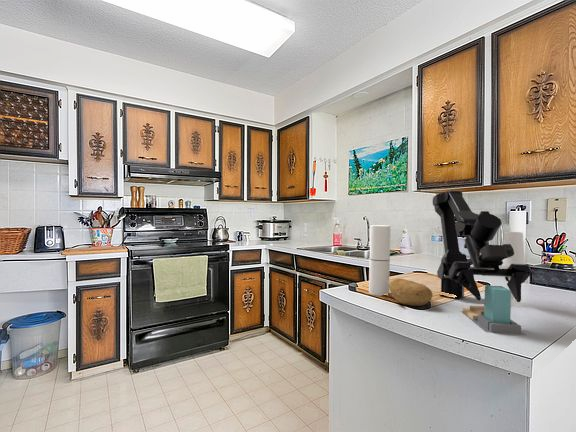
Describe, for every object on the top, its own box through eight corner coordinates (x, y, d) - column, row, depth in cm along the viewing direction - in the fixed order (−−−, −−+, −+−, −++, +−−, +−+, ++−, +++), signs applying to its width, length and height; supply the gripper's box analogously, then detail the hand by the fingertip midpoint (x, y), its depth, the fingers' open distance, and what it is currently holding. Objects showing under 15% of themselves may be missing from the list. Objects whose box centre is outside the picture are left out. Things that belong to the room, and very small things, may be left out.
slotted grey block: (460, 314, 90) (460, 304, 90) (493, 316, 88) (494, 306, 88) (485, 335, 74) (486, 323, 74) (526, 339, 73) (527, 326, 73)
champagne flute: (529, 306, 98) (531, 232, 98) (514, 308, 96) (516, 233, 95) (508, 300, 104) (510, 231, 104) (494, 302, 102) (496, 231, 102)
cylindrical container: (365, 292, 112) (366, 225, 111) (375, 289, 117) (376, 224, 116) (382, 297, 107) (384, 226, 106) (392, 293, 112) (394, 225, 111)
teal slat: (483, 322, 81) (484, 285, 80) (500, 323, 80) (501, 286, 80) (492, 329, 76) (493, 289, 76) (510, 330, 75) (511, 290, 75)
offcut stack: (462, 311, 90) (462, 303, 89) (492, 313, 88) (492, 305, 88) (472, 319, 83) (473, 311, 83) (505, 321, 81) (505, 313, 81)
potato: (420, 314, 89) (421, 287, 89) (382, 302, 101) (382, 278, 101) (439, 309, 94) (440, 283, 94) (401, 297, 106) (401, 275, 106)
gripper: (453, 232, 83) (469, 281, 73) (528, 234, 80) (557, 285, 70) (442, 256, 91) (456, 304, 81) (511, 259, 88) (534, 308, 78)
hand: (499, 300), depth 77 cm, fingers open, 9 cm apart
